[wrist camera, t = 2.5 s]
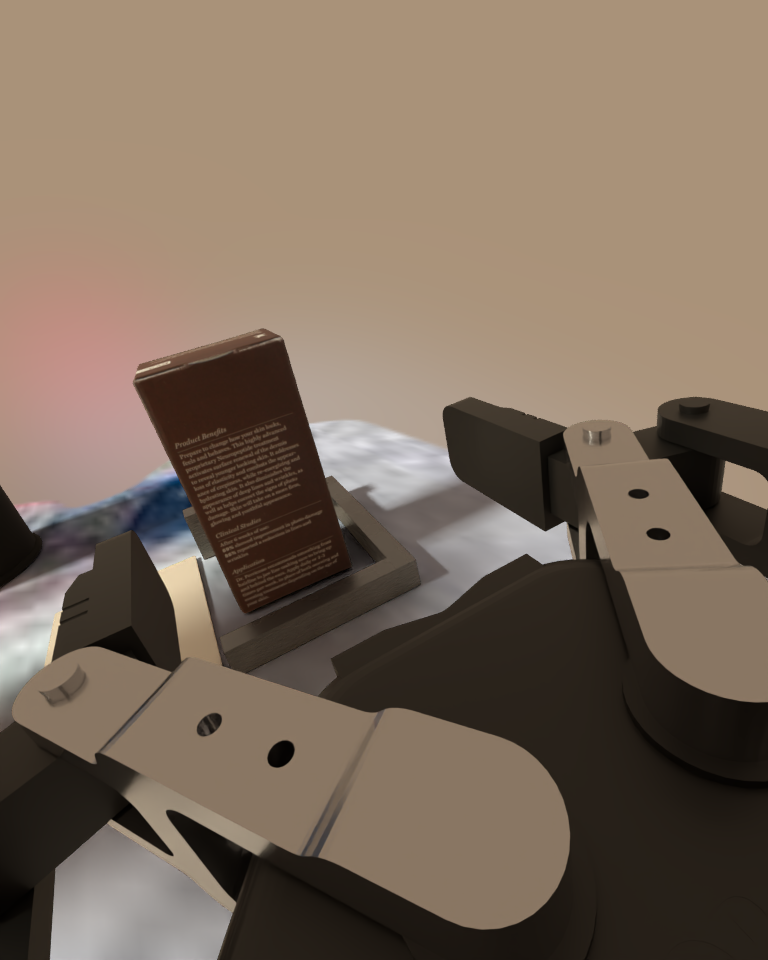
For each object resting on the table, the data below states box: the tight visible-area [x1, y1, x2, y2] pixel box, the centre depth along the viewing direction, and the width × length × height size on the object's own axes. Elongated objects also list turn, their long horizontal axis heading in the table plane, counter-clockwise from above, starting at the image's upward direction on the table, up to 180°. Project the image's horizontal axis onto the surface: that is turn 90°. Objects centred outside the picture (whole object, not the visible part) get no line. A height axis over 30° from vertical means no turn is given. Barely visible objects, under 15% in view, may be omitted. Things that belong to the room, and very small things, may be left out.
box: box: [133, 329, 352, 613], centre depth 23 cm, size 6×4×12 cm
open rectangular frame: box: [183, 476, 421, 673], centre depth 25 cm, size 9×11×3 cm
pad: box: [45, 556, 223, 667], centre depth 23 cm, size 8×10×1 cm
